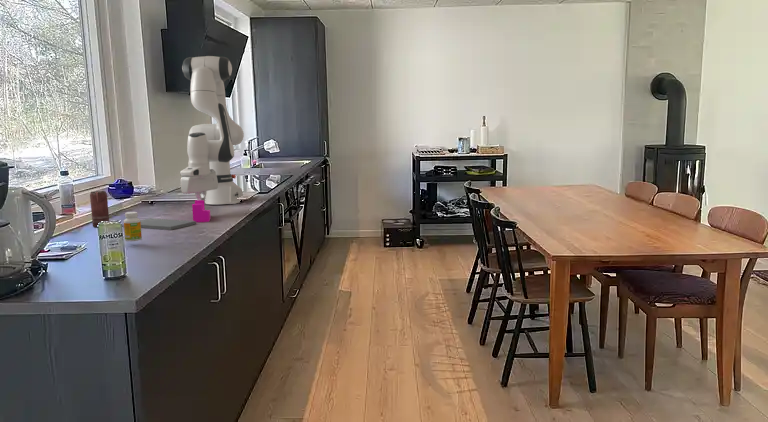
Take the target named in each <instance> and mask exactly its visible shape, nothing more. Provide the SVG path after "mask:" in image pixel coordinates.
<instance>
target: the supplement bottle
mask: <svg viewBox="0 0 768 422" xmlns="http://www.w3.org/2000/svg"><path fill="white" fill-rule="evenodd" d="M138 216H139V215H138V212H137V211H127V212H125V213H124V217H125V219H123V230H124V241H125V242H138V241H141V240H143V239H142V237H143V235H142V228H141V221H140V220H141V219H140V218H139V217H138Z"/></svg>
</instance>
